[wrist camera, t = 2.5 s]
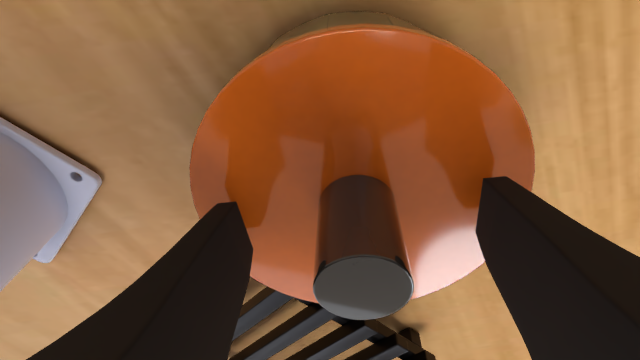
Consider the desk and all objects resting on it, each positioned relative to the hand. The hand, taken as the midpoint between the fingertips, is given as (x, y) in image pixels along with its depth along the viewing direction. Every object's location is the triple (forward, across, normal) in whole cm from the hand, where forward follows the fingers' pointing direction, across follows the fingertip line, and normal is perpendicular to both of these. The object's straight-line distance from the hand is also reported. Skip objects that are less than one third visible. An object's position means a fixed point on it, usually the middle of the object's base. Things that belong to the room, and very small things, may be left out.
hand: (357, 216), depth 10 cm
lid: (+1, 0, 0) cm, 1 cm away
